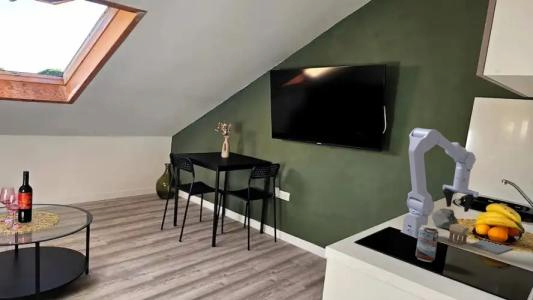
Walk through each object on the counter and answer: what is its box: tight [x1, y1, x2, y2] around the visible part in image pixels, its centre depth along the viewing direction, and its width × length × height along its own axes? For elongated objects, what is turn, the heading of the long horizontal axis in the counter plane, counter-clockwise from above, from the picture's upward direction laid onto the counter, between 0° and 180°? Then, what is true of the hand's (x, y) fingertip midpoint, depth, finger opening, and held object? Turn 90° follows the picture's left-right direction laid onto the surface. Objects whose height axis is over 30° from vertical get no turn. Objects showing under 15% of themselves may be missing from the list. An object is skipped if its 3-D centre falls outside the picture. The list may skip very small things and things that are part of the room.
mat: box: [469, 239, 513, 256], centre depth 141 cm, size 13×10×1 cm
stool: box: [448, 223, 470, 245], centre depth 143 cm, size 5×5×6 cm
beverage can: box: [415, 224, 440, 263], centre depth 122 cm, size 6×7×12 cm
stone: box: [431, 208, 460, 230], centre depth 161 cm, size 10×10×10 cm
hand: (457, 209), depth 156 cm, fingers open, 7 cm apart
